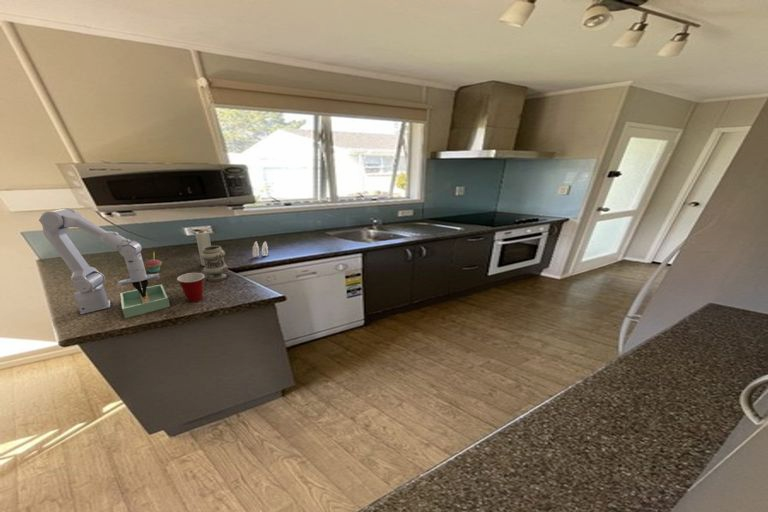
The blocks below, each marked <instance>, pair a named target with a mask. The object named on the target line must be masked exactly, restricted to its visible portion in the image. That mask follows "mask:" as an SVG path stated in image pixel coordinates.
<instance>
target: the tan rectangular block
mask: <svg viewBox="0 0 768 512" xmlns="http://www.w3.org/2000/svg"><path fill="white" fill-rule="evenodd" d="M142 292H143V291H142ZM139 295H140V299H141V303H146V302H150V299H149V296H148V293H147V292H146V296H145V297H142V295H141V294H140V293H139Z"/></svg>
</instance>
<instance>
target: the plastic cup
mask: <svg viewBox="0 0 768 512" xmlns="http://www.w3.org/2000/svg"><path fill="white" fill-rule="evenodd" d="M205 277H206V276H205V273H201V272H188V273H183V274H181V275H179V276H178V277H177V278H176V280H177V282H178V283H179V285H180V287H181V289H182V291H183V293H184V295H185V297H186V300H187V301H188V302H190V303H194V302H198V301H201V300H202V299H203V290H204V289H203V287H204V280H205V279H204V278H205Z"/></svg>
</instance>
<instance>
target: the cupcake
mask: <svg viewBox="0 0 768 512" xmlns="http://www.w3.org/2000/svg"><path fill="white" fill-rule="evenodd" d="M155 257H156V255H155V252H152V259H149V260H146V261H145V262H143V263H144V267H145V269H146V270H148V272H149V273H158V272H159V271H160V270H161V269H160V268H161V265H162V264H163V263H162V260H160V259H156V258H155Z"/></svg>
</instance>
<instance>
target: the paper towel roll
mask: <svg viewBox="0 0 768 512" xmlns="http://www.w3.org/2000/svg"><path fill="white" fill-rule="evenodd" d="M195 238H196V243H197V248H198V253H199V259H200V265H201V266H203V267H205V262H204V259H202V258H201V253H202V252H203V249H204V248H205V247H209V246H212V243H211V237H210V232H208V231H205V230H200V231H195Z"/></svg>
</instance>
